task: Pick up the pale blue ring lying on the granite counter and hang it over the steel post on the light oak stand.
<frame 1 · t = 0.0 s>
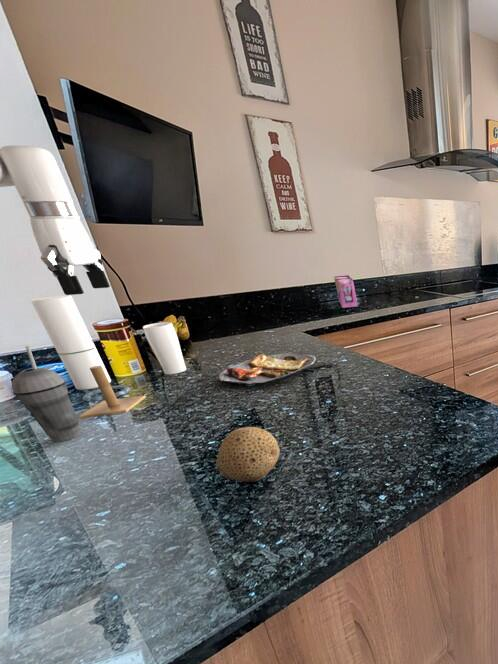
hand: (89, 290, 93), 27 cm above the countertop, tool pointing down, fingers open, 9 cm apart
natural sponge: (258, 481, 68), on the countertop
ring: (107, 393, 104), point 1 cm above the countertop
gum box: (348, 304, 212), on the countertop
drinking glass: (176, 373, 119), on the countertop
cylindrical container: (95, 387, 111), on the countertop
food plate: (270, 373, 117), on the countertop
beverage cup: (67, 437, 84), on the countertop
ring stand: (115, 409, 96), on the countertop
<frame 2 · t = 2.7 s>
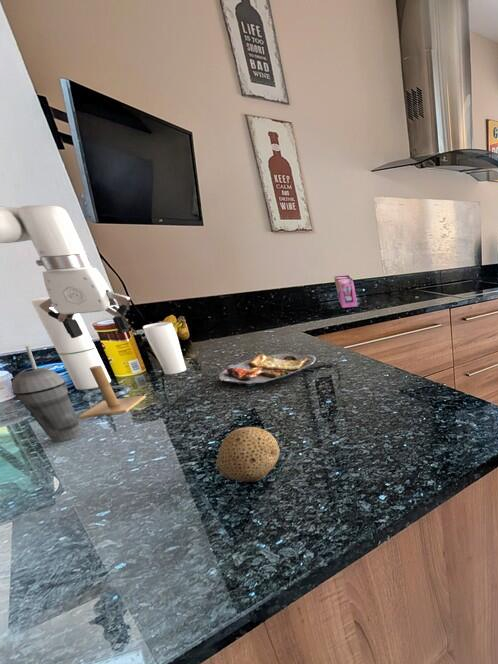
hand: (101, 334, 98), 17 cm above the countertop, tool pointing down, fingers open, 9 cm apart
nothing on the countertop moved.
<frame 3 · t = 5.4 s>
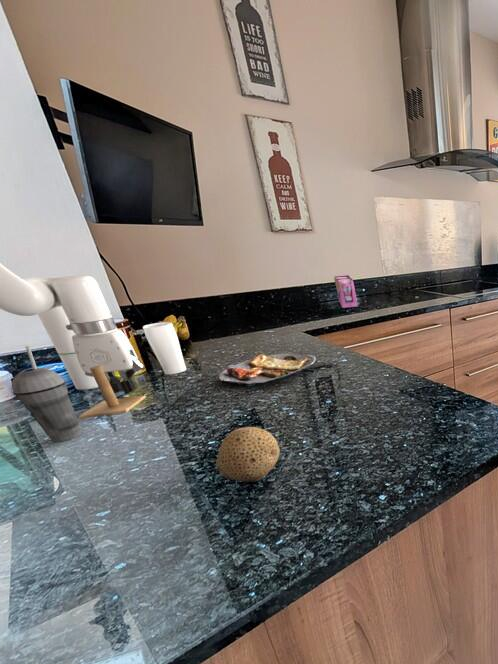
hand: (125, 393, 105), 0 cm above the countertop, tool pointing down, fingers closed on ring, 1 cm apart
ring: (107, 393, 104), point 1 cm above the countertop, touching gripper
everything else where it was.
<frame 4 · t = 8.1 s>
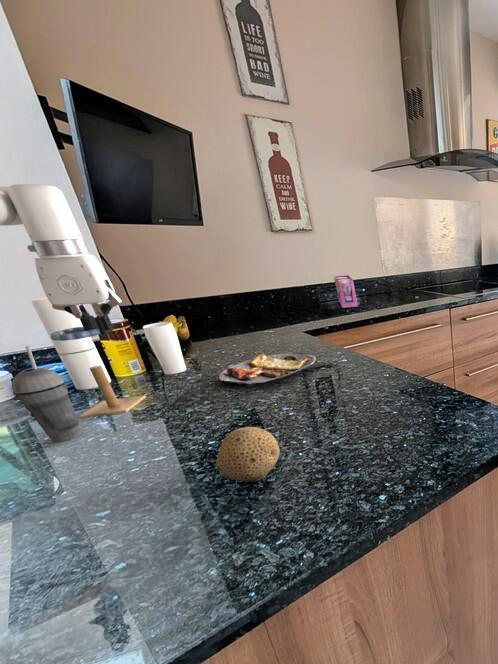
hand: (101, 332, 90), 19 cm above the countertop, tool pointing down, fingers closed on ring
ring: (80, 332, 89), point 19 cm above the countertop, touching gripper
everything else where it was.
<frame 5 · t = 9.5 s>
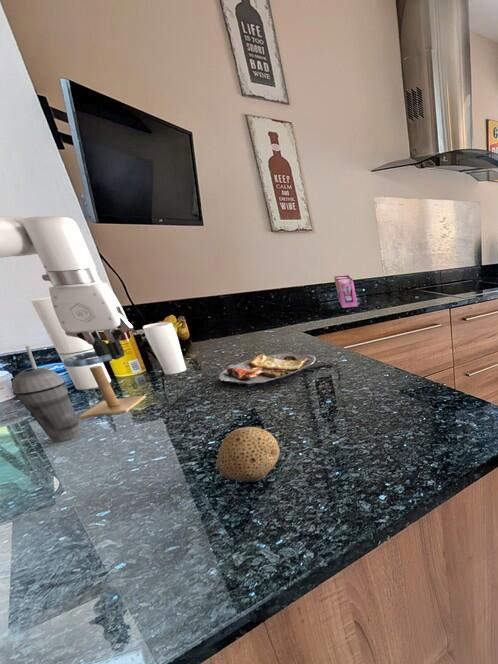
hand: (112, 357, 92), 13 cm above the countertop, tool pointing down, fingers closed on ring
ring: (92, 357, 91), point 13 cm above the countertop, touching gripper
everything else where it was.
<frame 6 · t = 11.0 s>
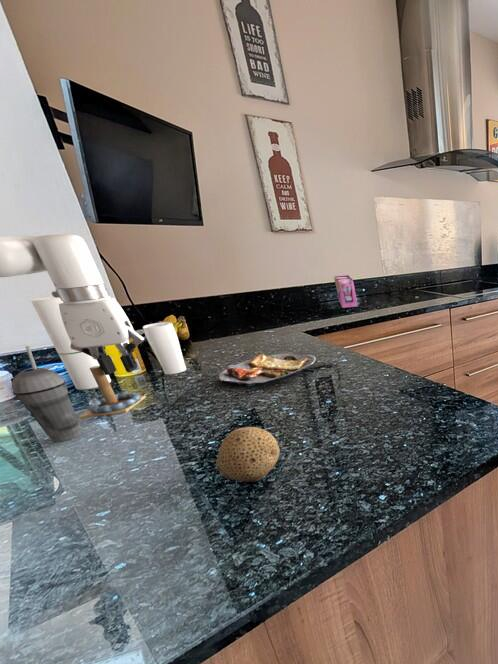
hand: (121, 370, 94), 10 cm above the countertop, tool pointing down, fingers open, 3 cm apart
ring: (115, 402, 95), point 2 cm above the countertop, touching ring stand
everything else where it was.
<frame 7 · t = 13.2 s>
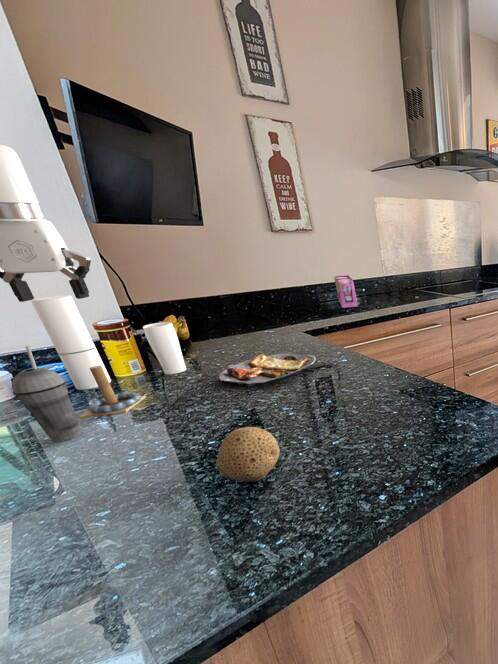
hand: (55, 299, 86), 27 cm above the countertop, tool pointing down, fingers open, 9 cm apart
nothing on the countertop moved.
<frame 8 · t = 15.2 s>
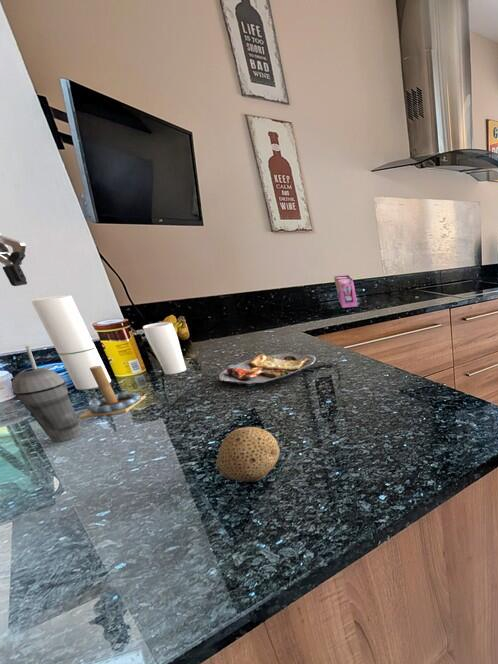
nothing on the countertop moved.
at the end: ring 0.6 cm off-centre on the ring stand, point 1.9 cm above the ring stand's base; the gripper is holding nothing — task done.
